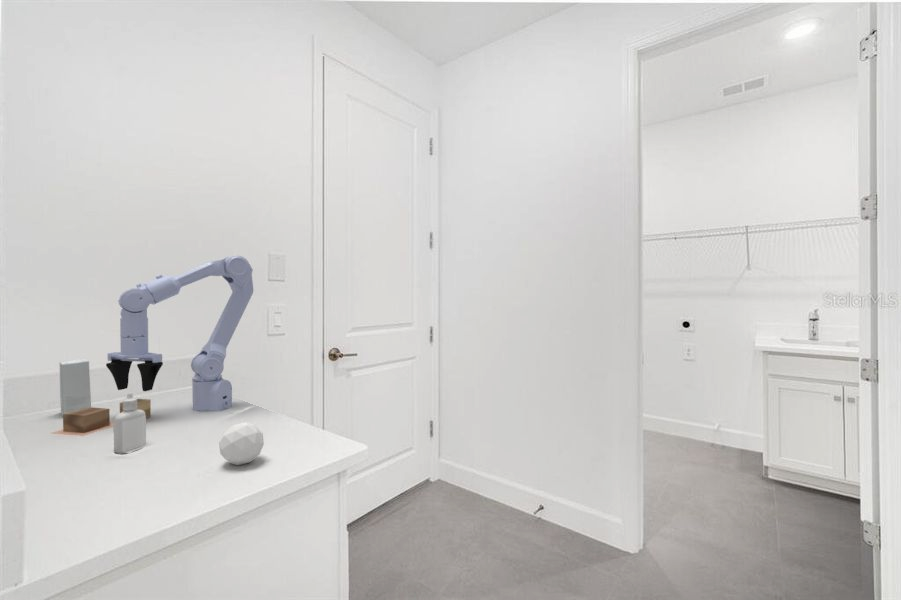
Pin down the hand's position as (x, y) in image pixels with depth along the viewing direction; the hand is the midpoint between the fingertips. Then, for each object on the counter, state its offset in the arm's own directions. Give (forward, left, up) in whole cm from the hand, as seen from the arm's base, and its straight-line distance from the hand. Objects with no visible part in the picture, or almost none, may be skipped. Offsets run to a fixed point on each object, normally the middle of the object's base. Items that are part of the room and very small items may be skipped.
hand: (135, 389), depth 112 cm
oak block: (0, 0, -7) cm, 7 cm away
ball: (-44, +18, -8) cm, 48 cm away
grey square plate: (+2, +5, -8) cm, 10 cm away
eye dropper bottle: (-17, +17, -8) cm, 25 cm away
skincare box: (+20, -1, -8) cm, 22 cm away
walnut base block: (+4, +9, -7) cm, 12 cm away
